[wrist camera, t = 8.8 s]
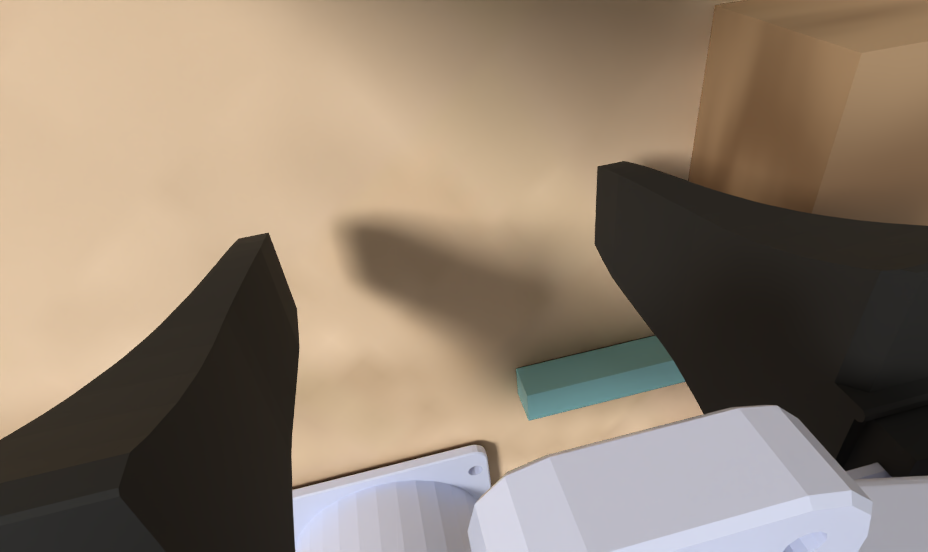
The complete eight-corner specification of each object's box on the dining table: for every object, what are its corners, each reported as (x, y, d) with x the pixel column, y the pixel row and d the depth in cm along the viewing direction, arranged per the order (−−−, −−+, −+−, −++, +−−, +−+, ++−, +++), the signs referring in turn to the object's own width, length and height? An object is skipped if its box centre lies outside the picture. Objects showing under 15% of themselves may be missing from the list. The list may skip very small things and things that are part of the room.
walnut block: (859, 186, 17) (1002, 268, 14) (678, 224, 17) (777, 320, 13) (938, -34, 14) (1159, -1, 10) (711, 3, 13) (861, 52, 9)
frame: (927, 293, 21) (957, 313, 20) (517, 393, 19) (528, 420, 18) (1254, -357, 11) (1343, -380, 10) (470, -272, 9) (488, -290, 8)
